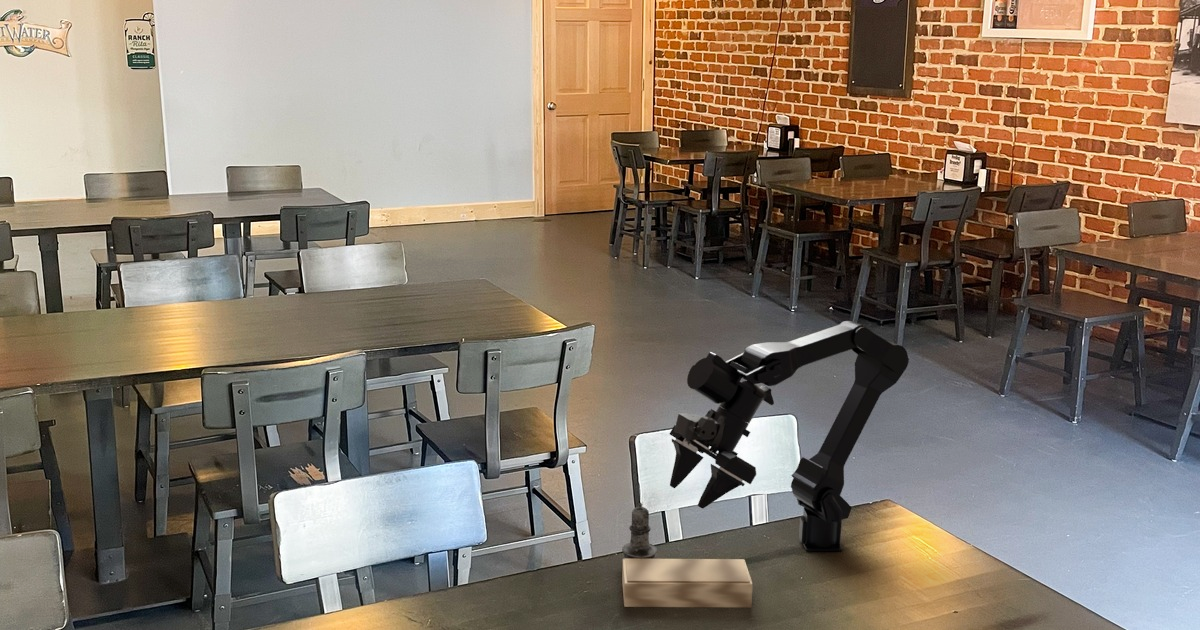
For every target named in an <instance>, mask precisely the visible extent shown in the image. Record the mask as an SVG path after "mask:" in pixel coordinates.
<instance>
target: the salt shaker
mask: <svg viewBox="0 0 1200 630" xmlns="http://www.w3.org/2000/svg"><path fill="white" fill-rule="evenodd" d="M643 505H644V504H643V503H642V502H639V503H638V506H636V507H634V508H633V509H632V512H631V525H630V526H629V527H628V528H629V530H630V541H629V542H628V543H626V544H624V545H623V546H622V547H621V551H622V553H623V556H624V559H625V558H627V559H655V556H656V554H657V553H658V548H657V547H656V546H655V545H654V544H652V543H650V537H649V536H650V531H651V530H652V529H651V526H650V525H649V520H650V518H649V517H650V511H649V510H648V508H646V507H644V506H643Z"/></svg>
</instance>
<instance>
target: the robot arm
mask: <svg viewBox="0 0 1200 630" xmlns="http://www.w3.org/2000/svg"><path fill="white" fill-rule="evenodd" d="M849 351H851V352H853V353H854V354H856V355H857V356H856V358H855V362H854V381H853V382H854V383H853V384H852V386H851V388H850V390H849V392H848V394H847V396H846V398H845V399H844V402H843V404H842V405H841V407H840V409H839V411H838V413H837V415H836V418H835V420H834V421H833V423H832V425H831V427H830V429H829V431H828V433H827V435H826V436H825V439H824V441H823V443H822V445H821V446H820V449H819V451H818V452H817V453H816V454H815V455H813V456H812V457H810V458H807V457H805V456H802V457H801V459H800V460H799V462H798V465H797V467H796V470H795V471H794V472H793V473H792V474H791V478H792V480H791V483H790V487H791V490H792V491H791V492H792V494H793V496H794V497H795V498H796V500H797V505H799V506H800V507H802V508H803V512H802V513H803V514H802V515H801V516H800V517H799V529H798V530H799V531H798V539H799V540H800V542H801V544H802V545H803V547H804V549H805V550H806V551H807V552H842V551H843V549H844V548H843V546H842V544H841V539H842V538H841V537H842V536H841V535H842V525H843V524H842V523H843V520H846V519H849V516H850V514H851V510H852V506H851V505H850V504H849V503H848V502H847V501H846V500H845V499H844V498H843V497H842V496H841V495H842V494H841V493H842V491H843V488H844V485H845V470H844V469H845V465H846V463H847V461H848V459H849V457H850V455H851V453H852V451H853V449H854V447H855V445H856V443H857V441H858V440H859V438H860V435H861V434H862V431H863V430H864V428H865V426H866V423H868V421H869V418H870V416H871V414H872V412H873V410H874V408H875V406H876V404H877V402H878V400H879V398H880V397H881V395H882V394H883V393H884V392H886V391H887V390H889V389H890V388H891V387H893V386H894V385H896V384H897V383H898V381H899V380H900V378H901V376H902V375H903V374H904V372H905V371H906V369H907V368H908V366H909V365H908V364H909V362H910V358H909V357H908V351H907V349H906V348H905V347H904V346H903V345H900V344H897V343H895V342H892V341H889V340H886V339H884V338H883V337H881V336H879V335H878V334H876V333H875V332H873V331H871V330H870V329H869V328H868V327H867V326H866V325H863V324H861V323H857V322H854V321H852V320H845V321H842V322H841V323H839V324H837V325H834V326H832V327H828V328H825V329H822V330H819V331H816V332H813V333H810V334H808V335H805V336H801V337H798V338H796V339H792V340H790V341H789V340H788V341H786V342H785V341H783V342H781V341H780V342H778V341H776V342H775V341H774V342H773V341H769V342H767V341H766V342H761V343H755V344H751V345H749V346H747V347H746V348H744V352H742V353H739V354H738V355H736V356H733V357H732V358H730V359H728V360H726V361H725V360H724V359H723V358H722V357H721V356H720V355H718V354H716V353H714V352H713V351H709V353H708V354H707V356H706V357H704V358H701V359H699V360H698V361H697V362H696V363H695V364H694V365H692V366H691V367H690V369H689V371H688V373H687V378H686V383H687V385H688V387H689V388H690V389H691V390H693V391H695V392H696V393H698V394H699V395H701V396H703V397H704V398H706V399H707V400H709V401H711V402H712V403H713V404H719V405H718V407H717V409H715V410H716V411H715V410H714V409H712V408H711V409H710V410H708V411H707V413H706V414H705V415H701V414H700V415H699V414H695V413H686V412H678V415H677V417H676V418H677V419H676V421H675V424H674V425H673V427H672V429H671V430H670V432H669V435H670V436H671V437H672V438H671V443H673V445H674V446H673V447H674V451H675V456H674V457H675V459H674V464H673V469H672V473H671V477H670V482H669V486H670V487H671V488H673V489H676V488H677V487H678V486H679V485H680V484H681V483H682V482H683V481H684V480H685V479H686V478H687V477H688V476H689V474H691V473H692V471H694V469H695V468H696V467H697V466H698V465H699V464H700V463H701V461H703V459H704V458H705V457H703V455H701V454H706V455H707V456H709V457H711V458H712V459H714V461H715V463H714V464H712V463H710V470H711V471H710V472H711V476H710V479H709V481H708V482H707V485H706V486H705V488H704V490H703V493H702V494H701V496H700V499H699V500H698V502H697V503H698V504H697V507H699V508H701V509H705V508H706V507H708V506H709V505H711V504H712V503H714V502H715V501H717V500H718V499H720V498H721V497H722V496H724V495H726V494H728V493H729V492H731V491H733V490H736V488H738V487H740V486H742V487H744V486H745V483H747V484H748V485H752V483H753V481H754V479H755V477H757V469H756V466H754V465H752V464H751V463H749V462H747V461H746V460H744V459H743V458H741V457H740V456H738V454H739V453H737V452H736V451H735V448H736V447H737V445H738V443H739V442H740V440H741V438H742V436H745V437H746V438H748V437H749V436H750V434H751V431H749V430H748V427H749V424H750V422H752V420H753V418H754V417H755V415H756V413H757V411H758V410H759V408H760V406H761V405H762V403H763V402H764V403H765V404H768V405H770V406H773V405H775V401H774V397H773V394H772V389H771V388H770V387H773V386H774V387H776V386H777V385H779V384H781V383H782V382H784V381H786V380H788V379H789V378H792V377H793V376H794V375H795V373H796V372H797V370H798V369H800V368H801V369H802V367H804V366H807V365H810V364H814V363H816V362H819V361H822V360H824V359H827V358H830V357H833V356H836V355H838V354H842V353H844V352H849ZM741 380H743V381H741ZM757 384H763V385H761V386H758V385H757ZM698 452H699V453H700V454H699V453H698ZM716 465H717V466H716ZM743 481H744V482H745V483H744V482H743Z"/></svg>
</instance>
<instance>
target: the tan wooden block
mask: <svg viewBox="0 0 1200 630" xmlns="http://www.w3.org/2000/svg"><path fill="white" fill-rule="evenodd" d="M621 573H622V575H621V576H622V577H621V580H622V581H621V582H622V593H623V594H622V595H623V605H624V606H623V607H626V608H627V607H628V608H629V607H631V608H632V607H633V608H642V607H643V608H752V600H753V599H752V598H753V580H752V578H751V574H750V572H749V569H748V566H747V563H746V560H745V559H744V558H742V559H741V558H740V559H739V558H736V559H735V558H734V559H733V558H654V559H627V558H625V557H624V558H622V571H621Z"/></svg>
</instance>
